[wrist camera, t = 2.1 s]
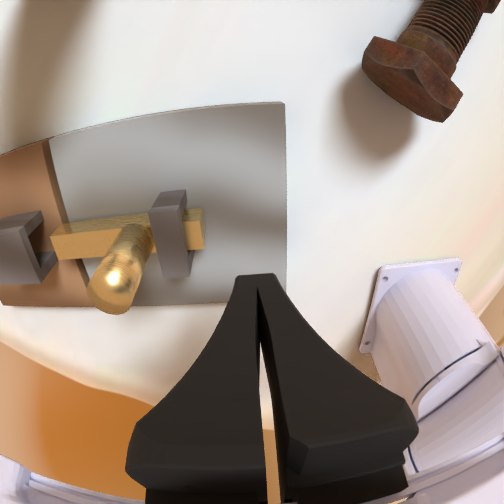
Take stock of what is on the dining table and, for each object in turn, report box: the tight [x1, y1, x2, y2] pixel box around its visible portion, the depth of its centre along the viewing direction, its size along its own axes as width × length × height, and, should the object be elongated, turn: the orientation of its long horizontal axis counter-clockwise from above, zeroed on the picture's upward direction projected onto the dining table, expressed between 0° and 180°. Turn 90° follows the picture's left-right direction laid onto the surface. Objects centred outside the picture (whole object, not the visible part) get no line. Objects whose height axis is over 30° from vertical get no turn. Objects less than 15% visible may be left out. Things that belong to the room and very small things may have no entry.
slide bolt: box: [50, 208, 206, 315], centre depth 14 cm, size 2×9×6 cm, turn 93°
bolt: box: [362, 0, 501, 123], centre depth 9 cm, size 6×5×15 cm
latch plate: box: [0, 102, 287, 307], centre depth 16 cm, size 12×24×4 cm, turn 93°
